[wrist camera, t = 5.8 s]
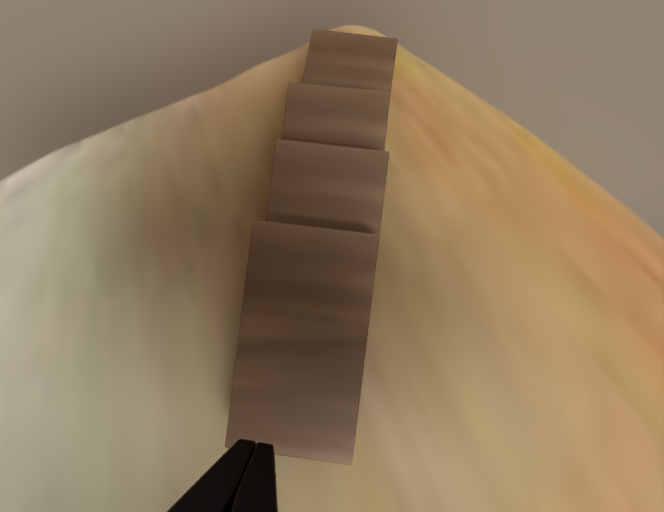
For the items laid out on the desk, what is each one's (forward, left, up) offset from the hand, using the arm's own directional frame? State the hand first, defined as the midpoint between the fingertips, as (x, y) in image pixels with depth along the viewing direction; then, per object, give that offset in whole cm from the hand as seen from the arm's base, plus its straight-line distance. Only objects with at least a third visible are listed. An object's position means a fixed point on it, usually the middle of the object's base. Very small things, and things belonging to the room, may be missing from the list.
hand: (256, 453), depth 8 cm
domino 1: (0, 0, -7) cm, 7 cm away
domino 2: (+3, +3, -7) cm, 8 cm away
